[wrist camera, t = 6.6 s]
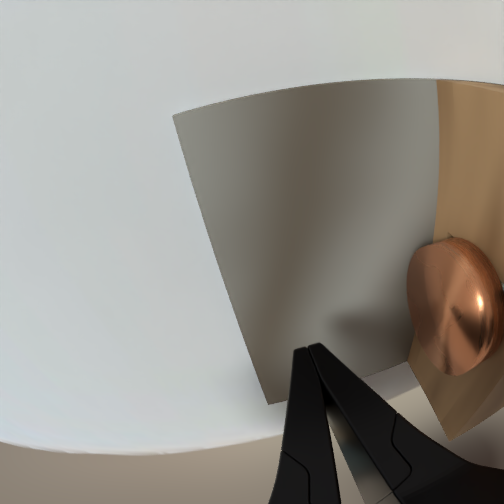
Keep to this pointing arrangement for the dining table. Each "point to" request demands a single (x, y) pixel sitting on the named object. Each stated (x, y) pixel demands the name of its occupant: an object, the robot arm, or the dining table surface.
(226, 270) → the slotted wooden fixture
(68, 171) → the dining table surface
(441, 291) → the pin
